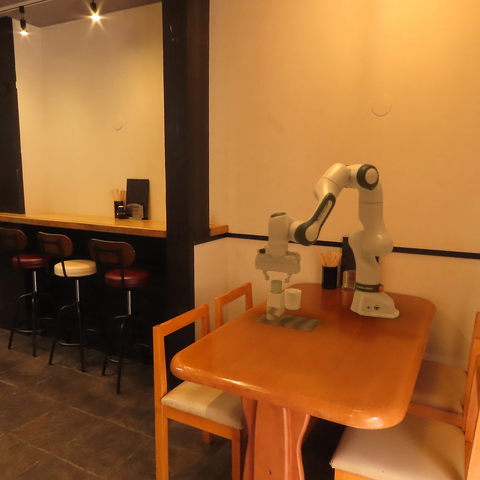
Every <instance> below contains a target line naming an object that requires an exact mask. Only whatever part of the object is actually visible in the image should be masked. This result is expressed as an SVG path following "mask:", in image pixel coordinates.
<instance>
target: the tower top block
mask: <svg viewBox="0 0 480 480" xmlns="http://www.w3.org/2000/svg"><path fill="white" fill-rule="evenodd" d="M284 305H285V290H284V291H283V290H282V293H280V294H274V293H271V290H269V291H268V292H267V293H266V307H267V306H269V307H275V308H281V307H282V306H284Z"/></svg>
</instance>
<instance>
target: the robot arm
mask: <svg viewBox="0 0 480 480" xmlns="http://www.w3.org/2000/svg"><path fill="white" fill-rule="evenodd" d="M344 188H345V189H353V190H354V189H355V190H358V211H357V212H358V213H357V214H358V217H357V218H358V220H359V222H360V223H361V224H362V226H363V227H362V228H363V229H357V230H353V231H352V232H351V233H350V235H348V246H350V249H351V250H352V253H353V255H354V260H355V281H354V283H353V284H354V285H353V293H354V294H353V298H352V303H351V306H350V310H351V311H352V312H354V313H357V314H358V315H360V316H365V317H374V318H384V319H396V318H398V317H399V316H400V311H399V309H397V308H396V307H395V306H396V305H395V302H394V300H393V298H391V297H390V296H389V295H388V294H387V293H386V292H385V291H384V286H385V285H384V284H382V283H380V277H381V266H380V265H379V263H378V261H377V259H376V257H387V256H389V255H390V254H391V253H392V251H393V249H394V241H393V239H392V237H391V236H390V235H389V233H388V230H387V229H386V225H385V221H384V194H383V193H384V192H383V185H382V183H381V181H380V175H379V171H378V168H377V167H376V166H375V165H373V164H369V163H364V164H363V163H355V164H350V165H349V164H347V165H345V164H343V163H339V162H337V163H333V164H332V165H331V166H330V167H329V168H328V169H327V170H326V171H325V172H324V173H323V174H322V176H321V177H320V178H319V179H318V181H317V182H316V184H315V185H314V187H313V196H314V199H316V200H317V202H318V203H317V206H316V208H315V209H314V211H313V213H312V214H311V216H310V218H309V219H307V220H299V219H297V218H294V217H292V216H290V215H289V214H288V213H286V212H276V213H273V214H271V215H270V217H269V219H268V225H267V235H268V240H267V245H265V246H262V247H259V248H257V250H256V253H257V254H256V256H255V261H254V267H255V269H256V270H260V271H262V274H263V276H264V280H265V281H270V275H268V273H267V272H277V273H286V274H287V277H286V278H285V279H284V283H286V284H289V283H290V279H291V277H292V276H293V275H297V274H299V273H300V272H301V258H302V257H301V254H300V253H298V252H297V251H289V242H290V241H291V242H293V243H296V244H299V245H301V246H304V247H310V246H312V245H314V244H315V243H316V242H317V241H318V239H319V237H320V233H321V231H322V228H323V226H324V224H325V223H326V221H327V220H328V218H329V216H330V214H331V213H332V212H333V209H334V207H335V205H336V203H337V198H338V197H339V195H340V193H342V191H343V189H344Z"/></svg>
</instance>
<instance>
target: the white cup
mask: <svg viewBox="0 0 480 480" xmlns="http://www.w3.org/2000/svg"><path fill="white" fill-rule="evenodd" d="M284 292H285V309H287V310H291V311H298V310H300V307H301V300H302V299H301V298H302V297H301V296H302V290H301V289H299V288H286V289H284Z"/></svg>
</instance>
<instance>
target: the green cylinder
mask: <svg viewBox="0 0 480 480" xmlns="http://www.w3.org/2000/svg"><path fill="white" fill-rule="evenodd" d="M270 291H271V293H274V294H280V293H282V291H283V281H282V280H280V279H272V280H270Z"/></svg>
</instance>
